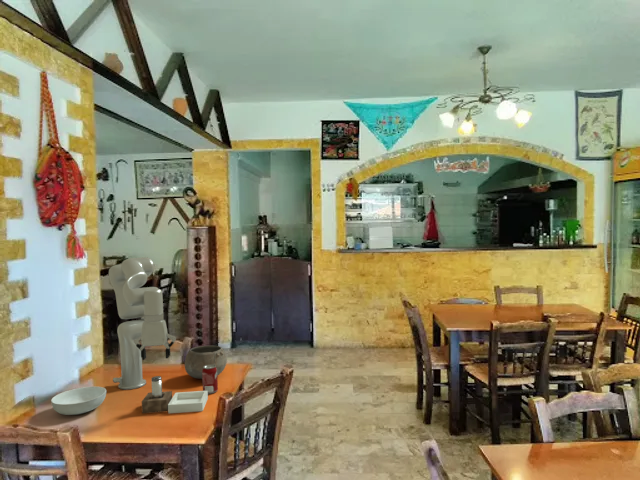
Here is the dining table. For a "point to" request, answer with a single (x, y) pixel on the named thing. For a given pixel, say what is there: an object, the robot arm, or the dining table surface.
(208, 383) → the soda can
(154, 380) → the metal pin
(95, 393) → the serving bowl
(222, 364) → the clay pot
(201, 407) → the grey tray
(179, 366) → the dining table surface
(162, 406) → the walnut block
